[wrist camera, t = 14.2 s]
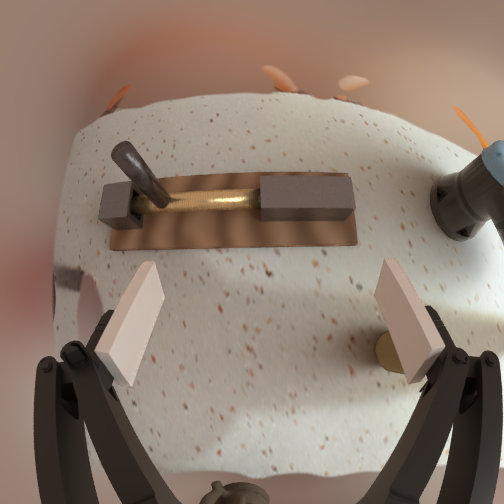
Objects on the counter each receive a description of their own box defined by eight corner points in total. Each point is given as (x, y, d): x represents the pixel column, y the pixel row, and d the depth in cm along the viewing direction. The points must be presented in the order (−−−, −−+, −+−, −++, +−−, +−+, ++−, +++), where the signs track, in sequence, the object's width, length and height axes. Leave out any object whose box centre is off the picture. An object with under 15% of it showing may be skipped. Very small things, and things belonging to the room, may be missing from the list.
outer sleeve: (341, 192, 48) (350, 176, 42) (344, 221, 47) (355, 208, 41) (260, 192, 49) (260, 175, 42) (261, 221, 47) (260, 208, 41)
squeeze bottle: (361, 345, 43) (411, 359, 26) (393, 316, 44) (452, 314, 26) (382, 377, 42) (435, 402, 24) (413, 348, 42) (473, 358, 25)
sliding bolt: (269, 193, 47) (272, 125, 28) (269, 211, 46) (273, 149, 28) (125, 201, 47) (71, 152, 29) (123, 218, 47) (64, 173, 29)
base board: (345, 176, 50) (347, 173, 49) (355, 245, 47) (357, 243, 46) (122, 186, 52) (119, 183, 51) (113, 250, 49) (109, 249, 47)
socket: (146, 196, 49) (131, 181, 43) (142, 228, 48) (126, 216, 41) (120, 199, 50) (104, 184, 43) (115, 230, 48) (98, 219, 42)
